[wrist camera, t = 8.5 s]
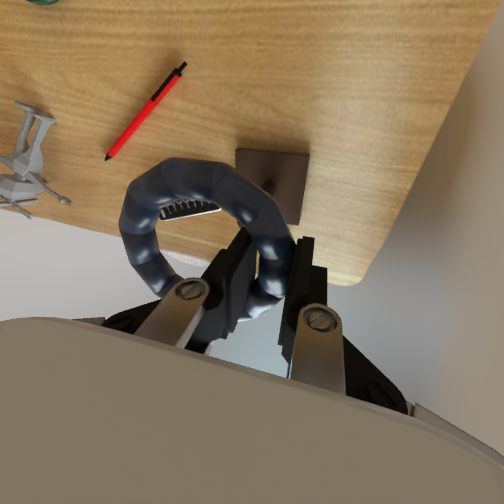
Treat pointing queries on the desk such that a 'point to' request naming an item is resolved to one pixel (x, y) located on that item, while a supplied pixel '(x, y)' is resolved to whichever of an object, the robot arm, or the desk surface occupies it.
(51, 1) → the decorative ornament
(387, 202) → the desk surface
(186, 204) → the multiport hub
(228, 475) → the robot arm
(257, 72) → the desk surface
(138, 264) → the ring
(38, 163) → the figurine
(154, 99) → the pen
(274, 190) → the stand
